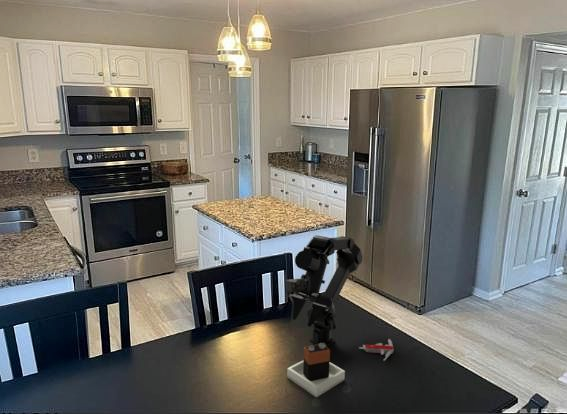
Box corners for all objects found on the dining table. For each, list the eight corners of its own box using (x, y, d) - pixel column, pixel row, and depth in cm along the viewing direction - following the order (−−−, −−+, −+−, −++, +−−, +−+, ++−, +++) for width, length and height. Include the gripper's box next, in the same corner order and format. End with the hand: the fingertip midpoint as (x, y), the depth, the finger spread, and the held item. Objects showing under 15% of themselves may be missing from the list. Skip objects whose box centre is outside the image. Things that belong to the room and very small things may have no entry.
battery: (329, 377, 123) (330, 347, 120) (308, 382, 120) (309, 351, 118) (323, 369, 127) (324, 339, 124) (302, 373, 124) (303, 343, 122)
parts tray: (315, 362, 132) (315, 353, 131) (344, 379, 123) (344, 370, 122) (287, 377, 124) (287, 368, 123) (316, 397, 115) (316, 387, 115)
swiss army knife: (360, 362, 132) (360, 356, 132) (357, 339, 146) (357, 334, 145) (396, 365, 131) (397, 359, 131) (390, 342, 145) (391, 336, 144)
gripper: (280, 264, 137) (265, 310, 134) (310, 271, 121) (294, 324, 118) (307, 273, 142) (294, 318, 139) (339, 281, 126) (325, 332, 123)
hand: (300, 322), depth 130 cm, fingers open, 9 cm apart
